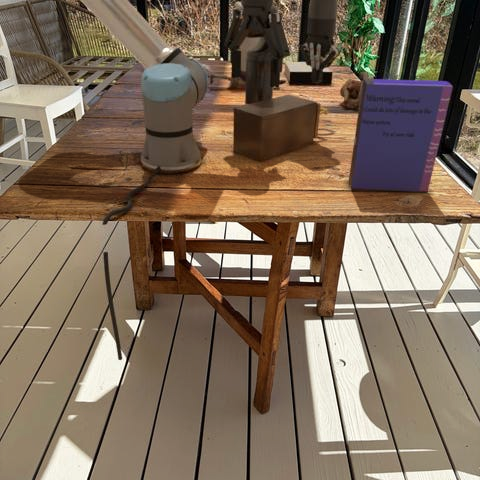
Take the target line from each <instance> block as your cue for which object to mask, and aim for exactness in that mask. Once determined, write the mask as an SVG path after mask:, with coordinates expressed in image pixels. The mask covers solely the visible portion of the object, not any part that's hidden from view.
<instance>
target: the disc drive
mask: <svg viewBox="0 0 480 480" xmlns="http://www.w3.org/2000/svg"><path fill="white" fill-rule="evenodd" d="M284 74H285V77H286V79H287V80H288V84H289V85H332V82H333V71H331V69H329V67H328V68H324V69H323V75H322V81H321V82H320V83H313V82H312V79H311V75H312V68H311V66H308V65H307V64H306V62H305V61H284Z"/></svg>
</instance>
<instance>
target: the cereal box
mask: <svg viewBox="0 0 480 480" xmlns="http://www.w3.org/2000/svg"><path fill="white" fill-rule="evenodd" d="M362 81H363V83H362V90H361V97H360V104H359V105H358V110H357V111H358V113H357V119H356V126H355V133H354V139H353V146H352V152H351V153H352V154H351V161H350V168H349V176H348V184H349V186H350V189H351V190H363V191H388V192H389V191H390V192H410V193H411V192H416V193H429V187H430V184H431V179H432V175H433V171H434V167H435V162H436V159H437V155H438V151H439V147H440V143H441V138H442V134H443V130H444V126H445V122H446V117H447V113H448V112H447V111H448V108H449V105H450V102H451V101H450V100H451V96H452V92H453V88H454V86H453V85H452V84H451V83H450V82H449V81H447V80H420V79H419V80H418V79H388V78H383V79H382V78H368V79H363V78H362Z"/></svg>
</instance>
